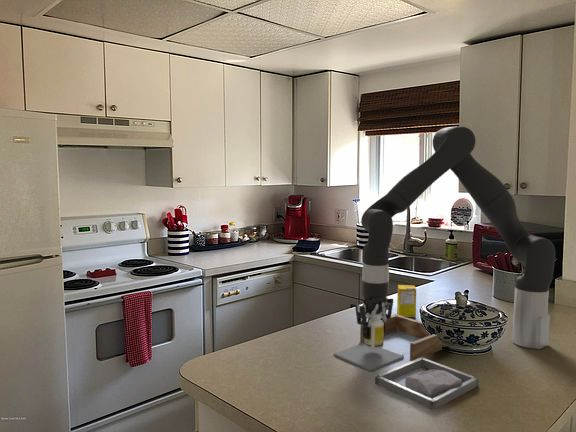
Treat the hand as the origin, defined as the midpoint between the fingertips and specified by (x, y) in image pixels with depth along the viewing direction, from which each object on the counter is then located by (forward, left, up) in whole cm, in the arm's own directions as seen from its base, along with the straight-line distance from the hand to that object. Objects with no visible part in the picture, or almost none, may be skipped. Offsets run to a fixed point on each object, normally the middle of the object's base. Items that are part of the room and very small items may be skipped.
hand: (374, 336), depth 143 cm
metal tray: (-21, +4, -6) cm, 22 cm away
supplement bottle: (0, 0, -3) cm, 3 cm away
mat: (0, +2, -6) cm, 6 cm away
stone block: (-23, +5, -6) cm, 24 cm away
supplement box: (+16, -36, -6) cm, 39 cm away
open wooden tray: (0, -14, -6) cm, 15 cm away
